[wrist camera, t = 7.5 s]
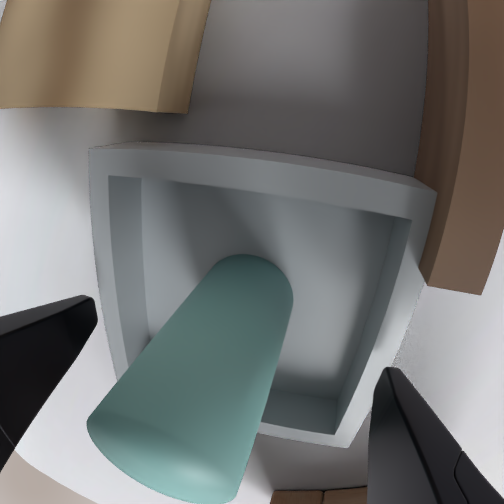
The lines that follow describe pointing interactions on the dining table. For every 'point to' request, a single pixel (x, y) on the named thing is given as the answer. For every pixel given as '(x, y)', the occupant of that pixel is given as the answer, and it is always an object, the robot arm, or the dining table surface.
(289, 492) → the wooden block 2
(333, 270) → the tray
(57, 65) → the board
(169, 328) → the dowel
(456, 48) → the rail
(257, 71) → the dining table surface
